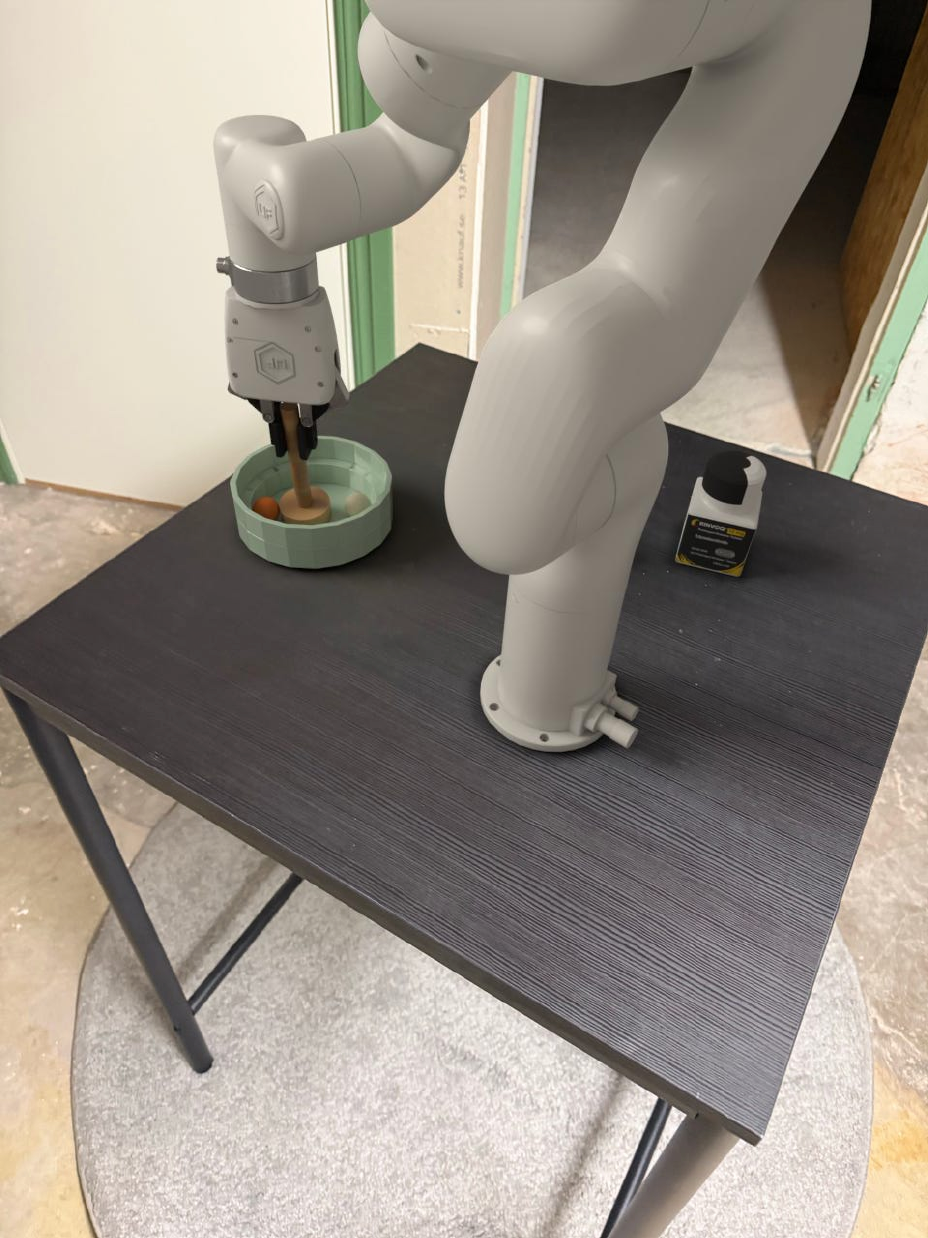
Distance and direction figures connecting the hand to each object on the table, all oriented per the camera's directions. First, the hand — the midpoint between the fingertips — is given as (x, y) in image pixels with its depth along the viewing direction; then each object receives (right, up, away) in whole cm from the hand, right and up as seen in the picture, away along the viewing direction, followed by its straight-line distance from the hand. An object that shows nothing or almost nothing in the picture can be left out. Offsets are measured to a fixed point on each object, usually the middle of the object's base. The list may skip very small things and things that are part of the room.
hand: (295, 450), depth 90 cm
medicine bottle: (+45, -10, +8) cm, 47 cm away
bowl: (+1, -7, +8) cm, 11 cm away
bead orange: (-4, -5, +6) cm, 9 cm away
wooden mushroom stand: (0, -6, +7) cm, 10 cm away
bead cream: (+6, -5, +7) cm, 10 cm away
